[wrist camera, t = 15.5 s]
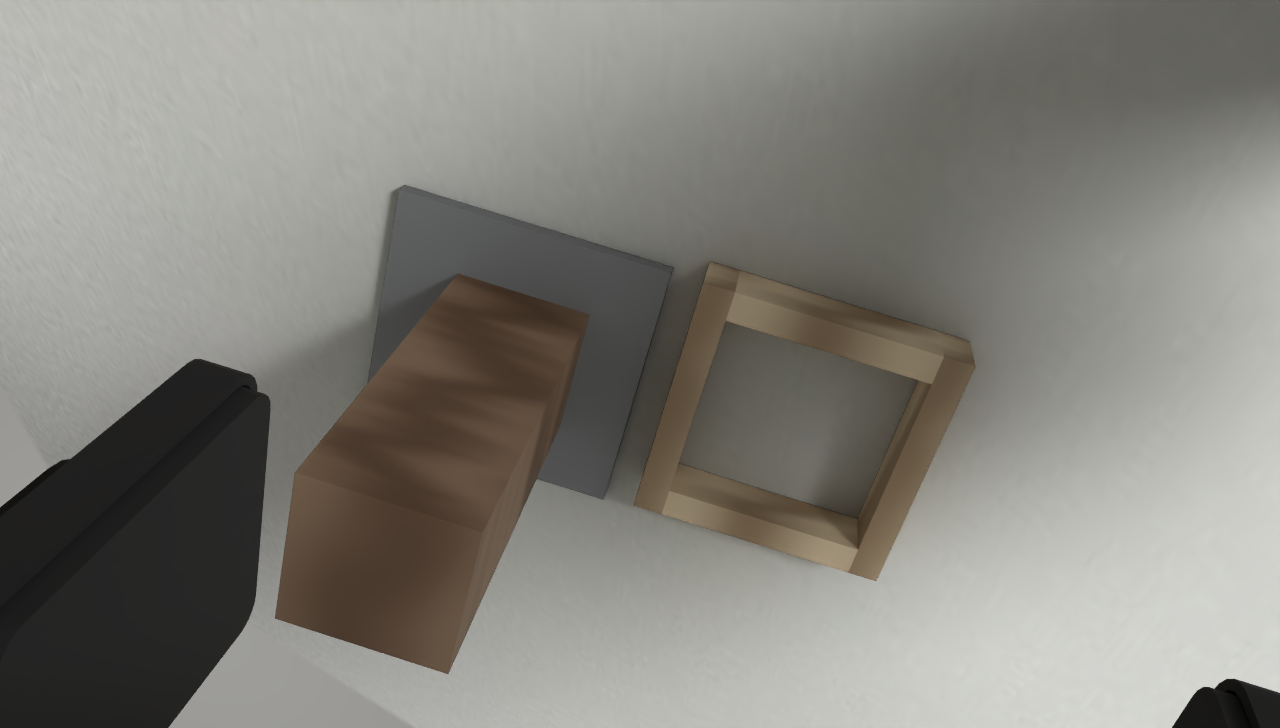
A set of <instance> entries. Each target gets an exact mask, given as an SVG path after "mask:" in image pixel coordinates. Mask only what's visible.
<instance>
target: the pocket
mask: <svg viewBox="0 0 1280 728" xmlns="http://www.w3.org/2000/svg"><path fill="white" fill-rule="evenodd" d="M726 321H728V322H731V323H734V324H738V325H741V326H744V327H747V328H751V329H754V330H757V331H760V332H764V333H767V334H770V335H773V336H777V337H780V338H783V339H786V340H790V341H793V342H796V343H799V344H803V345H806V346H809V347H812V348H816V349H819V350H822V351H825V352H829V353H832V354H835V355H838V356H842V357H845V358H848V359H851V360H854V361H858V362H861V363H864V364H867V365H871V366H874V367H877V368H880V369H884V370H887V371H890V372H893V373H897V374H900V375H903V376H906V377H910V378H913V379H916V380H918V382H917V384H916V386H915V389H914V391H913V393H912V396H911V398H910V400H909V402H908V405H907V407H906V409H905V412H904V414H903V416H902V418H901V421H900V423H899V425H898V428H897V430H896V432H895V434H894V437H893V439H892V441H891V444H890V446H889V448H888V450H887V453H886V455H885V457H884V460H883V462H882V464H881V466H880V469H879V471H878V473H877V476H876V478H875V480H874V482H873V485H872V487H871V489H870V492H869V494H868V496H867V498H866V501H865V503H864V505H863V508H862V510H861V512H860V514H859V517H858V519H855V518H852V517H848V516H845V515H842V514H839V513H836V512H832V511H829V510H826V509H823V508H820V507H816V506H813V505H810V504H807V503H803V502H800V501H797V500H794V499H791V498H787V497H784V496H781V495H778V494H775V493H771V492H768V491H765V490H762V489H759V488H755V487H752V486H749V485H746V484H743V483H739V482H736V481H733V480H730V479H727V478H723V477H720V476H717V475H714V474H710V473H707V472H704V471H701V470H698V469H694V468H691V467H688V466H685V465H682V464H678V463H679V460H680V457H681V454H682V451H683V448H684V445H685V442H686V439H687V436H688V433H689V430H690V427H691V424H692V421H693V418H694V415H695V412H696V409H697V406H698V403H699V400H700V397H701V394H702V391H703V388H704V385H705V382H706V379H707V376H708V373H709V370H710V367H711V364H712V361H713V358H714V355H715V352H716V349H717V346H718V343H719V340H720V337H721V334H722V331H723V328H724V325H725V322H726ZM975 367H976V366H975V362H974V358H973V354H972V350H971V346H970V341H967V340H964V339H961V338H958V337H954V336H951V335H948V334H945V333H941V332H938V331H935V330H932V329H928V328H925V327H922V326H919V325H915V324H912V323H909V322H906V321H902V320H899V319H896V318H893V317H889V316H886V315H883V314H880V313H876V312H873V311H870V310H866V309H863V308H860V307H857V306H853V305H850V304H847V303H844V302H840V301H837V300H834V299H831V298H827V297H824V296H821V295H818V294H814V293H811V292H808V291H805V290H801V289H798V288H795V287H792V286H788V285H785V284H782V283H779V282H775V281H772V280H769V279H766V278H762V277H759V276H756V275H753V274H749V273H746V272H743V271H739V270H736V269H733V268H730V267H726V266H723V265H720V264H717V263H713V262H710V263H709V266H708V270H707V273H706V276H705V279H704V282H703V286H702V289H701V292H700V295H699V298H698V301H697V305H696V308H695V311H694V314H693V317H692V320H691V324H690V327H689V330H688V333H687V336H686V340H685V343H684V346H683V349H682V352H681V355H680V359H679V362H678V365H677V368H676V371H675V374H674V378H673V381H672V384H671V387H670V390H669V394H668V397H667V400H666V403H665V406H664V409H663V413H662V416H661V419H660V422H659V425H658V428H657V432H656V435H655V438H654V441H653V444H652V448H651V451H650V454H649V457H648V460H647V463H646V467H645V470H644V473H643V476H642V479H641V483H640V486H639V490H638V493H637V496H636V500H635V503H634V506H637V507H641V508H644V509H647V510H650V511H653V512H656V513H660V514H663V515H666V516H669V517H672V518H676V519H679V520H682V521H685V522H688V523H692V524H695V525H698V526H701V527H704V528H708V529H711V530H714V531H717V532H720V533H724V534H727V535H730V536H733V537H736V538H740V539H743V540H746V541H749V542H752V543H756V544H759V545H762V546H765V547H768V548H771V549H775V550H778V551H781V552H784V553H787V554H791V555H794V556H797V557H800V558H803V559H807V560H810V561H813V562H816V563H819V564H823V565H826V566H829V567H832V568H835V569H839V570H842V571H845V572H848V573H851V574H855V575H858V576H861V577H864V578H867V579H871V580H874V581H877V578H878V576H879V574H880V572H881V570H882V568H883V565H884V563H885V561H886V559H887V557H888V555H889V552H890V550H891V548H892V546H893V544H894V542H895V539H896V537H897V535H898V533H899V531H900V529H901V527H902V524H903V522H904V520H905V518H906V516H907V514H908V511H909V509H910V507H911V505H912V503H913V501H914V498H915V496H916V494H917V492H918V490H919V488H920V485H921V483H922V481H923V479H924V477H925V475H926V473H927V470H928V468H929V466H930V464H931V462H932V460H933V457H934V455H935V453H936V451H937V449H938V447H939V444H940V442H941V440H942V438H943V436H944V434H945V431H946V429H947V427H948V425H949V423H950V421H951V419H952V416H953V414H954V412H955V410H956V408H957V406H958V403H959V401H960V399H961V397H962V395H963V393H964V390H965V388H966V386H967V384H968V382H969V380H970V377H971V375H972V373H973V371H974V369H975Z"/></svg>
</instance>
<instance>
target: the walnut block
mask: <svg viewBox="0 0 1280 728" xmlns="http://www.w3.org/2000/svg"><path fill="white" fill-rule="evenodd" d="M589 316H590V315H589V314H586V313H583V312H580V311H577V310H573V309H570V308H567V307H564V306H561V305H557V304H554V303H551V302H548V301H545V300H541V299H538V298H535V297H532V296H529V295H525V294H522V293H519V292H516V291H513V290H510V289H506V288H503V287H500V286H497V285H494V284H490V283H487V282H484V281H481V280H478V279H474V278H471V277H468V276H465V275H462V274H457V275H456V276H455V278H454V279H453V280H452V281H451V282H450V284H449V285H448V286H447V287H446V289H445V290H444V291H443V292H442V293H441V295H440V296H439V297H438V298H437V300H436V301H435V302H434V303H433V304H432V306H431V307H430V308H429V309H428V311H427V312H426V313H425V314H424V316H423V317H422V318H421V319H420V320H419V322H418V323H417V324H416V325H415V327H414V328H413V329H412V330H411V331H410V333H409V334H408V335H407V336H406V338H405V339H404V340H403V341H402V342H401V344H400V345H399V346H398V347H397V349H396V350H395V351H394V352H393V353H392V355H391V356H390V357H389V358H388V360H387V361H386V362H385V363H384V364H383V366H382V367H381V368H380V369H379V371H378V372H377V373H376V374H375V375H374V377H373V378H372V379H371V380H370V382H369V383H368V384H367V385H366V386H365V388H364V389H363V390H362V391H361V393H360V394H359V395H358V396H357V397H356V399H355V400H354V401H353V402H352V404H351V405H350V406H349V407H348V408H347V410H346V411H345V412H344V413H343V415H342V416H341V417H340V418H339V419H338V421H337V422H336V423H335V424H334V426H333V427H332V428H331V429H330V430H329V432H328V433H327V434H326V435H325V437H324V438H323V439H322V440H321V441H320V443H319V444H318V445H317V446H316V448H315V449H314V450H313V451H312V452H311V454H310V455H309V456H308V457H307V459H306V460H305V461H304V462H303V463H302V465H301V466H300V467H299V468H298V470H297V471H296V472H295V477H294V484H293V491H292V498H291V506H290V513H289V520H288V527H287V535H286V542H285V549H284V557H283V564H282V571H281V578H280V586H279V593H278V600H277V607H276V615H275V619H278V620H281V621H285V622H288V623H291V624H294V625H297V626H300V627H303V628H306V629H309V630H313V631H316V632H319V633H322V634H325V635H328V636H331V637H334V638H337V639H341V640H344V641H347V642H350V643H353V644H356V645H359V646H362V647H365V648H369V649H372V650H375V651H378V652H381V653H384V654H387V655H390V656H393V657H396V658H400V659H403V660H406V661H409V662H412V663H415V664H418V665H421V666H424V667H428V668H431V669H434V670H437V671H440V672H443V673H446V674H448V673H449V671H450V669H451V667H452V665H453V662H454V660H455V658H456V656H457V653H458V651H459V649H460V647H461V645H462V642H463V640H464V638H465V636H466V634H467V631H468V629H469V627H470V625H471V622H472V620H473V618H474V616H475V614H476V611H477V609H478V607H479V605H480V603H481V600H482V598H483V596H484V594H485V592H486V589H487V587H488V585H489V583H490V580H491V578H492V576H493V574H494V572H495V569H496V567H497V565H498V563H499V561H500V558H501V556H502V554H503V552H504V549H505V547H506V545H507V543H508V541H509V538H510V536H511V534H512V532H513V530H514V527H515V525H516V523H517V521H518V518H519V516H520V514H521V512H522V510H523V507H524V505H525V503H526V501H527V499H528V496H529V494H530V492H531V490H532V487H533V485H534V483H535V481H536V479H537V476H538V474H539V472H540V470H541V468H542V465H543V463H544V461H545V459H546V457H547V454H548V452H549V450H550V448H551V445H552V443H553V441H554V439H555V437H556V434H557V432H558V430H559V427H560V424H561V420H562V416H563V413H564V409H565V405H566V401H567V398H568V394H569V390H570V387H571V383H572V379H573V375H574V372H575V368H576V364H577V361H578V357H579V353H580V350H581V346H582V342H583V338H584V335H585V331H586V327H587V324H588V320H589Z"/></svg>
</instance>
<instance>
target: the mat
mask: <svg viewBox="0 0 1280 728" xmlns="http://www.w3.org/2000/svg"><path fill="white" fill-rule="evenodd" d="M672 270H673V267H669V266H666V265H663V264H660V263H656V262H653V261H650V260H647V259H643V258H640V257H637V256H633V255H630V254H627V253H624V252H620V251H617V250H614V249H611V248H607V247H604V246H601V245H598V244H594V243H591V242H588V241H585V240H581V239H578V238H575V237H572V236H568V235H565V234H562V233H559V232H555V231H552V230H549V229H546V228H542V227H539V226H536V225H533V224H529V223H526V222H523V221H520V220H516V219H513V218H510V217H507V216H503V215H500V214H497V213H494V212H490V211H487V210H484V209H481V208H477V207H474V206H471V205H468V204H464V203H461V202H458V201H455V200H451V199H448V198H445V197H442V196H438V195H435V194H432V193H429V192H425V191H422V190H419V189H416V188H412V187H409V186H406V185H404V186H403V187H402V188H400V189H399V193H398V199H397V205H396V211H395V218H394V224H393V230H392V236H391V242H390V248H389V254H388V261H387V267H386V273H385V279H384V285H383V291H382V297H381V304H380V310H379V316H378V322H377V328H376V334H375V341H374V347H373V353H372V359H371V365H370V371H369V377H368V383H369V382H370V380H371V379H372V378H373V377H374V375H375V374H376V373H377V372H378V371H379V369H380V368H381V367H382V366H383V364H384V363H385V362H386V361H387V360H388V358H389V357H390V356H391V355H392V353H393V352H394V351H395V350H396V349H397V347H398V346H399V345H400V344H401V342H402V341H403V340H404V339H405V338H406V336H407V335H408V334H409V333H410V331H411V330H412V329H413V328H414V327H415V325H416V324H417V323H418V322H419V320H420V319H421V318H422V317H423V316H424V314H425V313H426V312H427V311H428V309H429V308H430V307H431V306H432V304H433V303H434V302H435V301H436V300H437V298H438V297H439V296H440V295H441V293H442V292H443V291H444V290H445V289H446V287H447V286H448V285H449V284H450V282H451V281H452V280H453V279H454V278H455V276H456V275H457V274H462V275H465V276H468V277H471V278H474V279H478V280H481V281H484V282H487V283H490V284H494V285H497V286H500V287H503V288H506V289H510V290H513V291H516V292H519V293H522V294H525V295H529V296H532V297H535V298H538V299H541V300H545V301H548V302H551V303H554V304H557V305H561V306H564V307H567V308H570V309H573V310H577V311H580V312H583V313H586V314H589V315H590V316H589V320H588V324H587V327H586V331H585V335H584V338H583V342H582V346H581V350H580V353H579V357H578V361H577V364H576V368H575V372H574V375H573V379H572V383H571V387H570V390H569V394H568V398H567V401H566V405H565V409H564V413H563V416H562V420H561V424H560V427H559V430H558V432H557V434H556V437H555V439H554V441H553V443H552V445H551V448H550V450H549V452H548V454H547V457H546V459H545V461H544V463H543V465H542V468H541V470H540V472H539V474H538V476H537V479H539V480H543V481H546V482H549V483H552V484H555V485H559V486H562V487H565V488H568V489H571V490H575V491H578V492H581V493H584V494H587V495H590V496H594V497H597V498H600V499H603V500H604V497H605V494H606V491H607V487H608V484H609V481H610V477H611V474H612V471H613V467H614V464H615V461H616V457H617V454H618V451H619V447H620V444H621V441H622V437H623V434H624V430H625V427H626V424H627V420H628V417H629V414H630V410H631V407H632V404H633V400H634V397H635V394H636V390H637V387H638V384H639V380H640V377H641V373H642V370H643V367H644V363H645V360H646V357H647V353H648V350H649V347H650V343H651V340H652V337H653V333H654V330H655V327H656V323H657V320H658V317H659V313H660V310H661V306H662V303H663V300H664V296H665V293H666V290H667V286H668V283H669V280H670V276H671V273H672Z"/></svg>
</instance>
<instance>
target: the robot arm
mask: <svg viewBox="0 0 1280 728" xmlns="http://www.w3.org/2000/svg"><path fill="white" fill-rule="evenodd" d="M269 420H270V400H269V397H268V396H267V395H266V394H263V393H259V392H257V384H256V380H255V378H254V377H253V376H252V375H250V374H247V373H244V372H241V371H238V370H234V369H231V368H228V367H225V366H221V365H218V364H215V363H212V362H208V361H205V360H202V359H194V360H192V361H191V362H189V363H187V364H186V365H185V366H184V367H182V368H181V369H180V370H179V371H178V372H176V373H175V374H174V375H173V376H171V377H170V378H169V379H168V380H167V381H165V382H164V383H163V384H162V385H160V386H159V387H158V388H157V389H156V390H154V391H153V392H152V393H151V394H149V395H148V396H147V397H146V398H145V399H143V400H142V401H141V402H140V403H138V404H137V405H136V406H135V407H134V408H132V409H131V410H130V411H129V412H128V413H126V414H125V415H124V416H123V417H121V418H120V419H119V420H118V421H117V422H115V423H114V424H113V425H112V426H110V427H109V428H108V429H107V430H106V431H104V432H103V433H102V434H101V435H99V436H98V437H97V438H96V439H95V440H93V441H92V442H91V443H90V444H89V445H87V446H86V447H85V448H84V449H82V450H81V451H80V452H79V453H78V454H76V455H75V456H74V457H73V458H71V459H68V460H62V461H60V462H58V463H57V464H55V465H53V466H52V467H50V468H49V469H47V470H46V471H45V472H43V473H42V474H41V475H40V476H39V477H37V478H36V479H35V480H34V481H33V482H31V483H30V484H29V485H27V486H26V487H25V488H24V489H23V490H21V491H20V492H19V493H18V494H16V495H15V496H14V497H13V498H12V499H10V500H9V501H8V502H7V503H5V504H4V505H3V506H1V507H0V728H168V727H169V726H170V725H171V723H172V722H173V721H174V719H175V718H176V717H177V716H178V714H179V713H180V712H181V710H182V709H183V708H184V706H185V705H186V704H187V702H188V701H189V700H190V699H191V697H192V696H193V694H194V693H195V692H196V691H197V689H198V688H199V687H200V686H201V684H202V683H203V682H204V680H205V679H206V677H207V676H208V675H209V673H210V672H211V671H212V670H213V669H214V667H215V666H216V665H217V663H218V662H219V661H220V659H221V658H222V657H223V655H224V654H225V653H226V651H227V650H228V649H229V647H230V646H231V645H232V644H233V642H234V641H235V640H236V638H237V637H238V636H239V634H240V633H241V632H242V630H243V628H244V627H245V625H246V623H247V621H248V619H249V617H250V615H251V612H252V609H253V606H254V602H255V597H256V587H257V574H258V561H259V548H260V536H261V523H262V510H263V497H264V484H265V472H266V459H267V446H268V433H269ZM1172 728H1280V693H1278V692H1275V691H1272V690H1268V689H1265V688H1262V687H1259V686H1256V685H1252V684H1249V683H1246V682H1243V681H1239V680H1236V679H1226V680H1224V681H1223V682H1221V683H1219V684H1218V685H1217V687H1216V688H1215V689H1213V688H1210V687H1203V688H1201V689H1199V690H1198V691H1197V692H1196V693H1195V694H1194V695H1193V697H1192V698H1191V700H1190V701H1189V703H1188V704H1187V706H1186V707H1185V709H1184V710H1183V712H1182V713H1181V715H1180V716H1179V718H1178V719H1177V721H1176V722H1175V724H1174V725H1173V727H1172Z"/></svg>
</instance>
